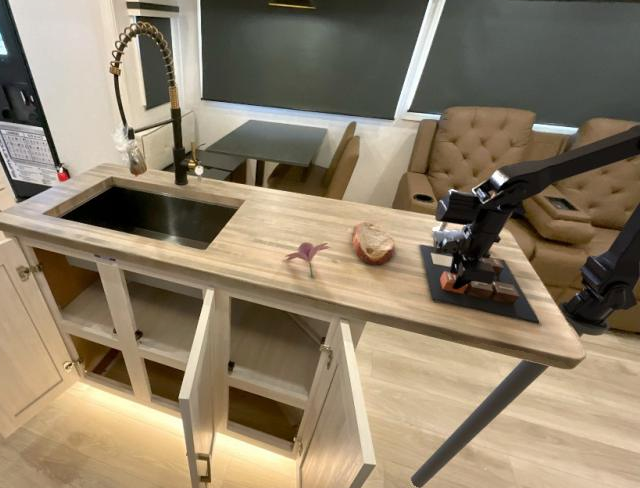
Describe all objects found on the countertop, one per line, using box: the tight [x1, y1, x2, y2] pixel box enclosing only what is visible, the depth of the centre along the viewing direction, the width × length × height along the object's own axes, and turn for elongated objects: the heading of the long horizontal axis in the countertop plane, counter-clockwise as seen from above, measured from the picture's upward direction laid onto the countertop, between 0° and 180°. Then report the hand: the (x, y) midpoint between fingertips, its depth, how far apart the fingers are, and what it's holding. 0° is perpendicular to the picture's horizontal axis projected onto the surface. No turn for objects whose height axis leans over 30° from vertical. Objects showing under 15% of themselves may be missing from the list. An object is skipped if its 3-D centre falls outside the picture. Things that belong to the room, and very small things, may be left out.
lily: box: [284, 241, 331, 278], centre depth 82 cm, size 12×12×10 cm
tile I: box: [491, 281, 520, 304], centre depth 77 cm, size 4×4×3 cm
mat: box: [420, 244, 540, 324], centre depth 84 cm, size 22×26×1 cm
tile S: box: [440, 271, 467, 294], centre depth 80 cm, size 4×4×3 cm
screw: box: [431, 222, 449, 234], centre depth 97 cm, size 13×5×5 cm
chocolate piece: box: [465, 281, 493, 299], centre depth 78 cm, size 4×4×3 cm
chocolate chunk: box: [481, 256, 504, 275], centre depth 86 cm, size 4×4×3 cm
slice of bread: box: [352, 220, 395, 265], centre depth 94 cm, size 18×18×4 cm
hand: (452, 282), depth 80 cm, fingers closed on tile S, 4 cm apart
